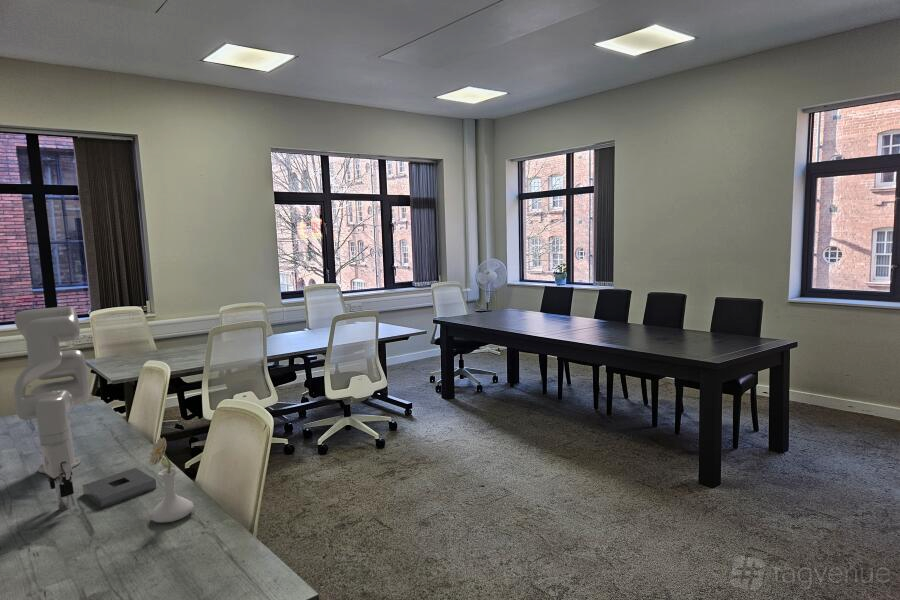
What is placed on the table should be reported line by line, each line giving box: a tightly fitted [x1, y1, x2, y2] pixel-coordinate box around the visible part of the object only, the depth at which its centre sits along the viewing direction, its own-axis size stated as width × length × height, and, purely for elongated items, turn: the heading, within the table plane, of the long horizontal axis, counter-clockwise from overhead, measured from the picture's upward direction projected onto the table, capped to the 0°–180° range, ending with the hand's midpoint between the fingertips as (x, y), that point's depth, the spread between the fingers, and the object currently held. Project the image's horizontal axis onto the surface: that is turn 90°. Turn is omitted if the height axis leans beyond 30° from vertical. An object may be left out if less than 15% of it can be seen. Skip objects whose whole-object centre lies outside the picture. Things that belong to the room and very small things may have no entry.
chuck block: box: [82, 467, 157, 509], centre depth 178 cm, size 16×16×3 cm
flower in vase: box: [149, 437, 195, 524], centre depth 158 cm, size 13×11×25 cm
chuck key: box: [46, 471, 73, 512], centre depth 167 cm, size 3×6×11 cm, turn 141°
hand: (62, 491), depth 167 cm, fingers open, 9 cm apart
